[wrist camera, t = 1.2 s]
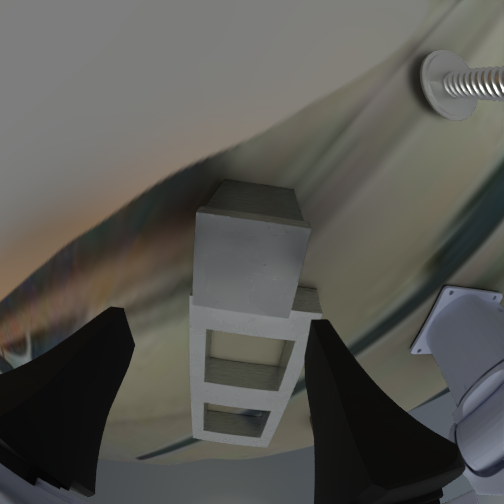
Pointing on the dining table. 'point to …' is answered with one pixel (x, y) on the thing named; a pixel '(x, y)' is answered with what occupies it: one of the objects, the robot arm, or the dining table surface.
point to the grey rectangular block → (249, 249)
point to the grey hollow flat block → (246, 371)
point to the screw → (458, 84)
